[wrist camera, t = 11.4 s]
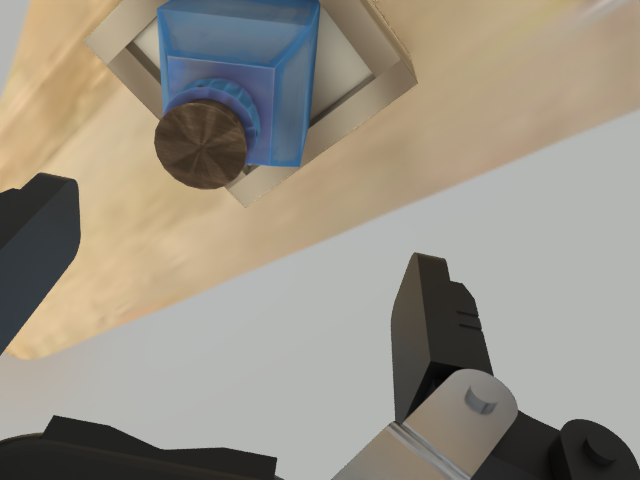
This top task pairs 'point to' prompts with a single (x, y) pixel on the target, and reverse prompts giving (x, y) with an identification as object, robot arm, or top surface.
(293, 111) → the perfume bottle
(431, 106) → the top surface
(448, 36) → the top surface
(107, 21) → the square tray
